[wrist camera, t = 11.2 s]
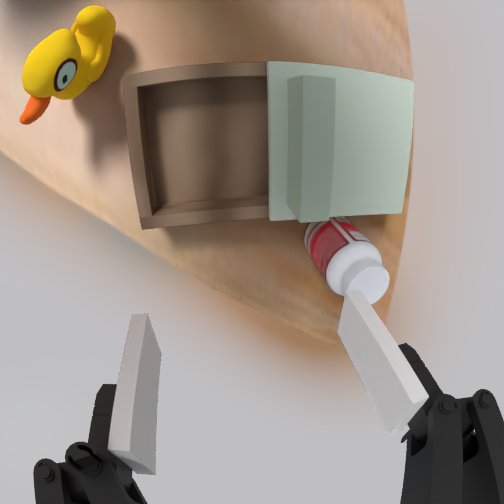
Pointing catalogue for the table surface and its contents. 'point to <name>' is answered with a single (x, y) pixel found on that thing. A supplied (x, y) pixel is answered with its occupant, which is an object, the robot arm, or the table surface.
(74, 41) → the duckling
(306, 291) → the table surface
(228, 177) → the box
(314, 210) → the lid
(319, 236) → the pill bottle
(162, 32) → the table surface
